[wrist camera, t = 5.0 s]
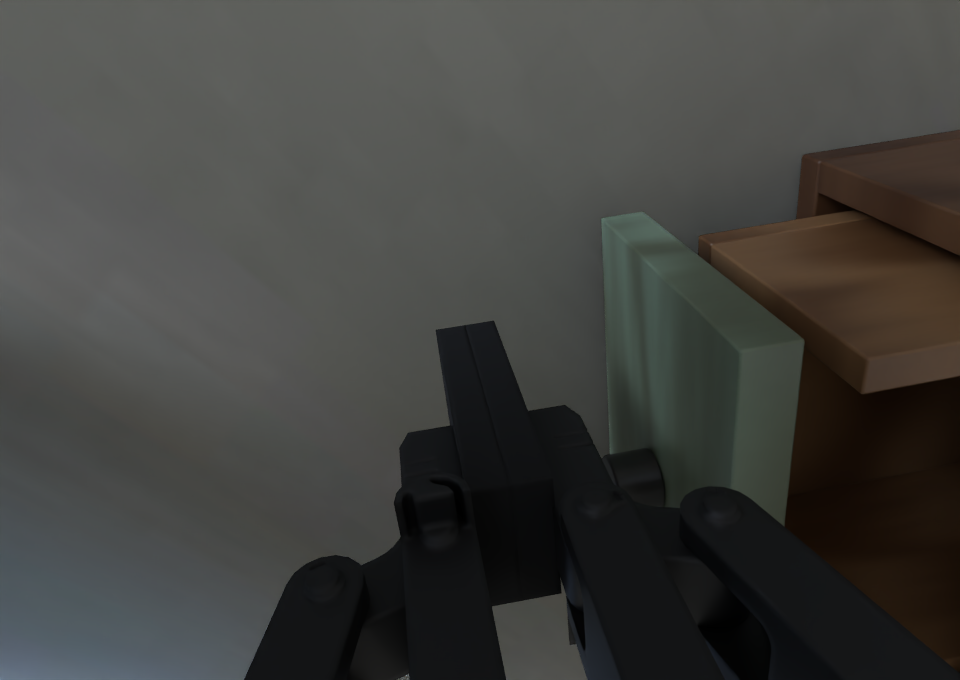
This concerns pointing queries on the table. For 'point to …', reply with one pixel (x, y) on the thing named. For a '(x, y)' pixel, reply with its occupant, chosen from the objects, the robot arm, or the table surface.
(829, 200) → the cabinet
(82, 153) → the table surface
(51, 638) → the table surface
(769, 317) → the drawer
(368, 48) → the table surface
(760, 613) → the robot arm
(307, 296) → the table surface
